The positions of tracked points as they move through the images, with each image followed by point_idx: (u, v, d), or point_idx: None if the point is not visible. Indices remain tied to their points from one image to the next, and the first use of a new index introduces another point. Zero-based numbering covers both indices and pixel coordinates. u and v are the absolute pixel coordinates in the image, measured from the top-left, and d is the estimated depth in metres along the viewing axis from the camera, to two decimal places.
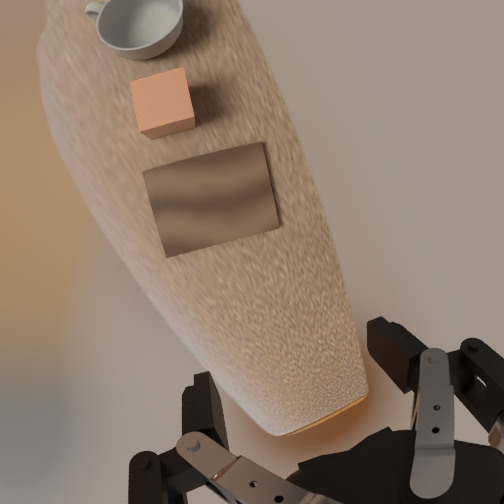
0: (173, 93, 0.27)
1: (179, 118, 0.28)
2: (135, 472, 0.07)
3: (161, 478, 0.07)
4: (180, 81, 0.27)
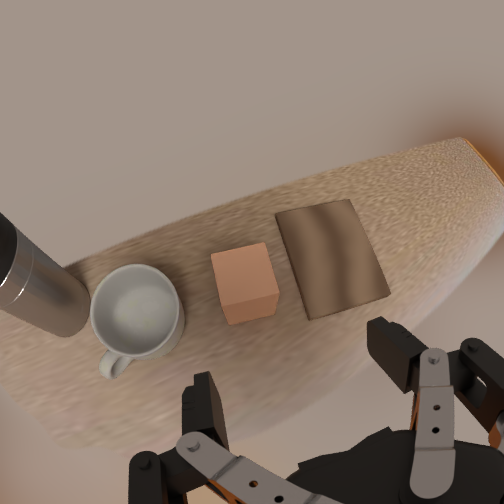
0: (239, 261, 0.32)
1: (266, 255, 0.32)
2: (135, 472, 0.07)
3: (162, 478, 0.07)
4: (226, 256, 0.32)
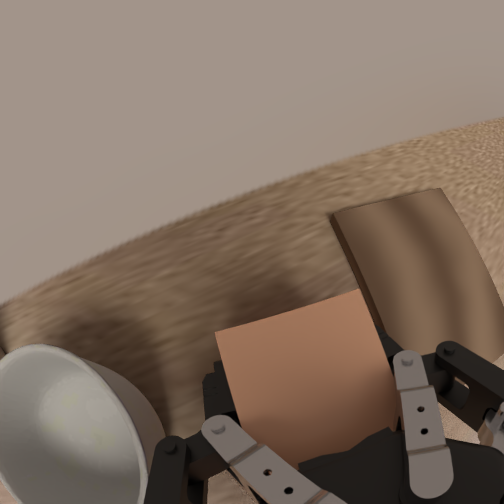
0: (299, 351, 0.10)
1: (369, 325, 0.11)
2: (159, 456, 0.08)
3: (185, 465, 0.08)
4: (260, 337, 0.11)
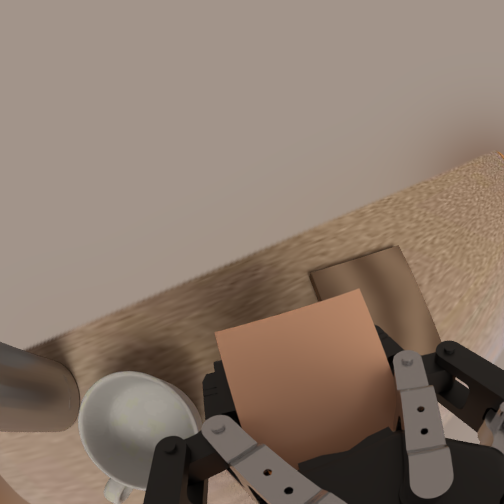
0: (299, 351, 0.10)
1: (369, 325, 0.11)
2: (159, 456, 0.08)
3: (185, 465, 0.08)
4: (260, 338, 0.11)
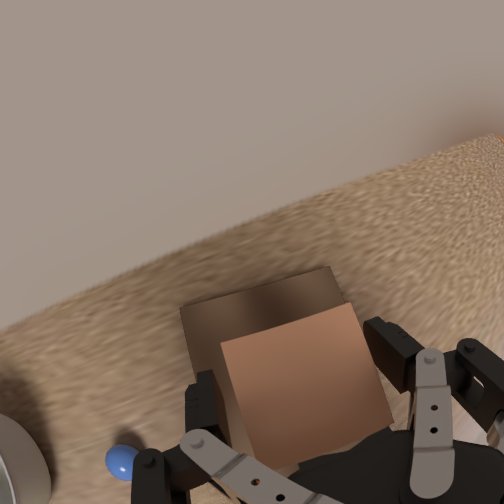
0: (296, 359, 0.12)
1: (358, 335, 0.12)
2: (139, 469, 0.07)
3: (165, 476, 0.07)
4: (261, 347, 0.12)
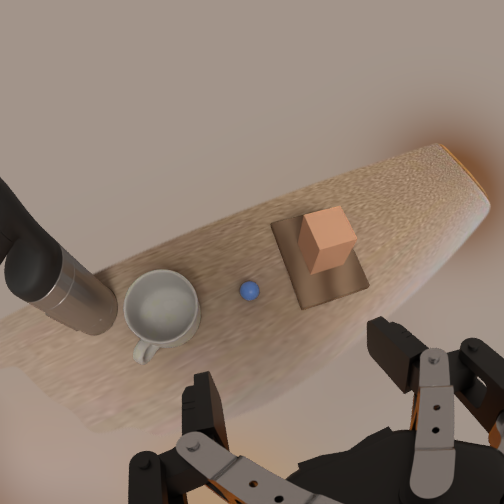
0: (325, 219, 0.42)
1: (343, 214, 0.42)
2: (135, 472, 0.07)
3: (162, 478, 0.07)
4: (315, 215, 0.42)
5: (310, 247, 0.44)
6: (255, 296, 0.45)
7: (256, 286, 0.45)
